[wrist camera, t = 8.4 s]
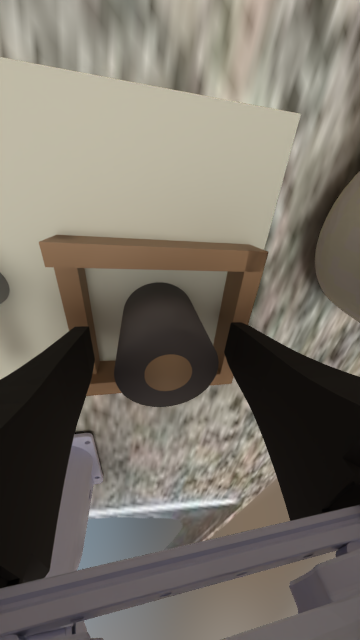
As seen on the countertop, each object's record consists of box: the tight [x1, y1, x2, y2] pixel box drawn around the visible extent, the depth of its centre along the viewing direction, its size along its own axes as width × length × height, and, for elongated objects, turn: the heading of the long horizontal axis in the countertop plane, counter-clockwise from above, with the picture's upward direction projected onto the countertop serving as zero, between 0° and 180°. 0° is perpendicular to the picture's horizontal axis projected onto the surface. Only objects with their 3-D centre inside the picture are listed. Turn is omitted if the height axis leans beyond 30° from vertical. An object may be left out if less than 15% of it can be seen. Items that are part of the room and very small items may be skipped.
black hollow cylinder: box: [114, 282, 219, 407], centre depth 11 cm, size 4×4×5 cm
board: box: [0, 57, 301, 396], centre depth 9 cm, size 16×22×6 cm
